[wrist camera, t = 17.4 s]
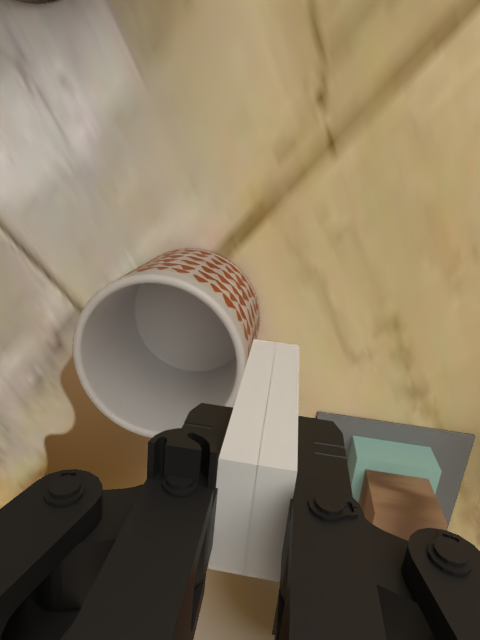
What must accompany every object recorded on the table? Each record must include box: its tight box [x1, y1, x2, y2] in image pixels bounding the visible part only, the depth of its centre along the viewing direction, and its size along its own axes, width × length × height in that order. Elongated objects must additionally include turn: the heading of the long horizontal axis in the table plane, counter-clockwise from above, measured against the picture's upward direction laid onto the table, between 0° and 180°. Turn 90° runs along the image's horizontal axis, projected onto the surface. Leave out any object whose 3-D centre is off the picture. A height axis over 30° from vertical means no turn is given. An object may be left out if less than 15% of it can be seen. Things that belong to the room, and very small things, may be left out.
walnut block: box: [359, 469, 447, 541], centre depth 42 cm, size 6×6×6 cm
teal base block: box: [347, 436, 442, 503], centre depth 46 cm, size 8×8×4 cm
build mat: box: [316, 412, 475, 530], centre depth 49 cm, size 16×12×1 cm
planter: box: [73, 249, 260, 438], centre depth 40 cm, size 14×14×13 cm
